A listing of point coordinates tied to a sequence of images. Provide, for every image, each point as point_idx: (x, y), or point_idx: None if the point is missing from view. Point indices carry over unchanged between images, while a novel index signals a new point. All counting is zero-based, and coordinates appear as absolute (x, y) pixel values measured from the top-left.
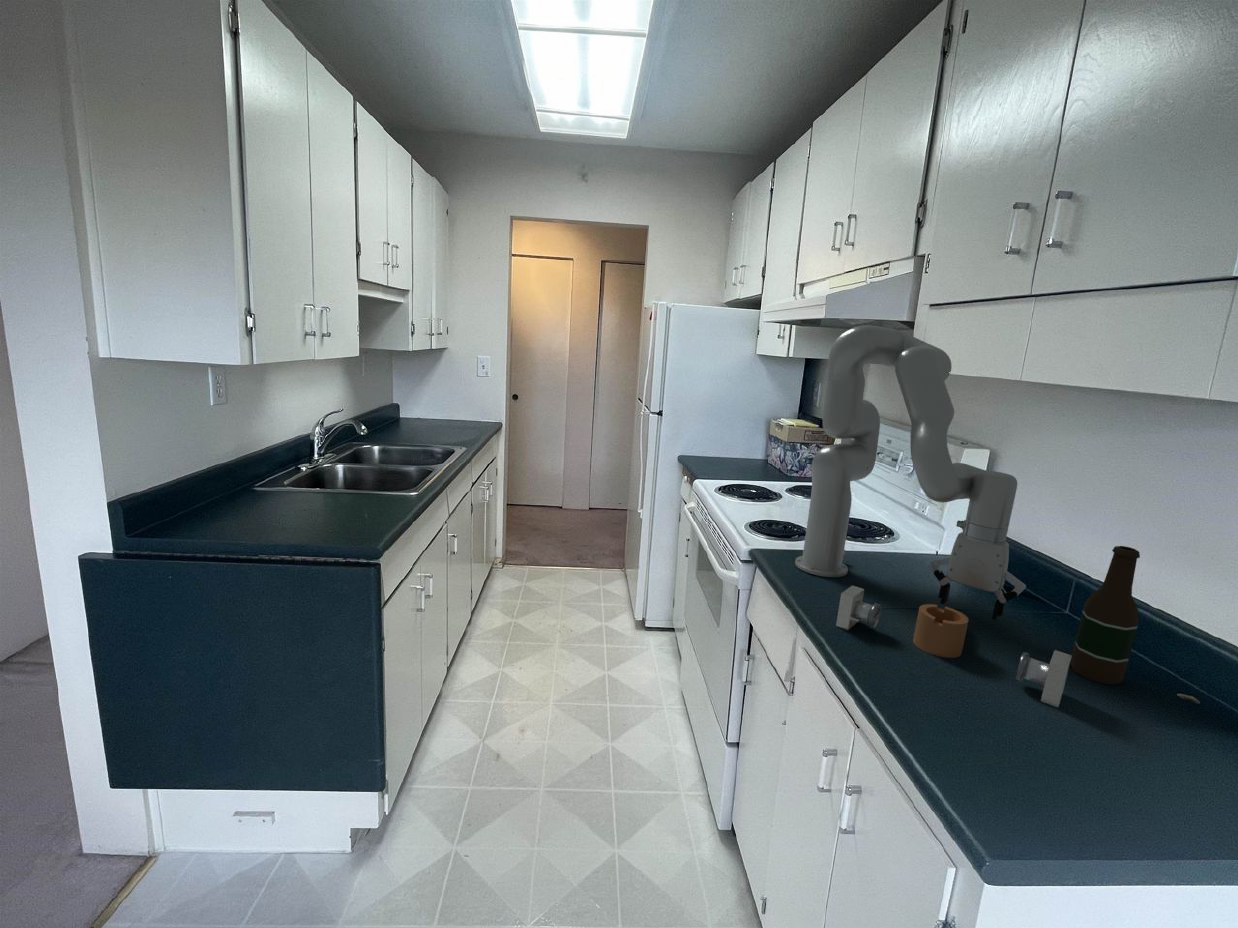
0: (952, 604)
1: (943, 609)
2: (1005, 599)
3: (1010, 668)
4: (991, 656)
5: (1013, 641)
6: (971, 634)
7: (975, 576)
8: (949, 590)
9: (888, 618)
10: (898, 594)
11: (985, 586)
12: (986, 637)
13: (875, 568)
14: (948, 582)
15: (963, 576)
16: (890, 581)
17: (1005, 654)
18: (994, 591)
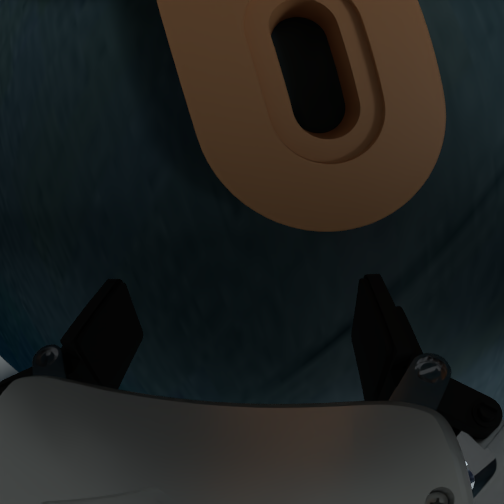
0: (329, 380)
1: (349, 221)
2: (33, 361)
3: (28, 19)
4: (75, 29)
5: (78, 241)
6: (185, 158)
7: (126, 502)
8: (360, 379)
9: (491, 42)
10: (487, 315)
11: (63, 405)
12: (136, 187)
13: (501, 402)
14: (396, 390)
15: (277, 484)
16: (489, 375)
17: (51, 98)
18: (30, 376)
